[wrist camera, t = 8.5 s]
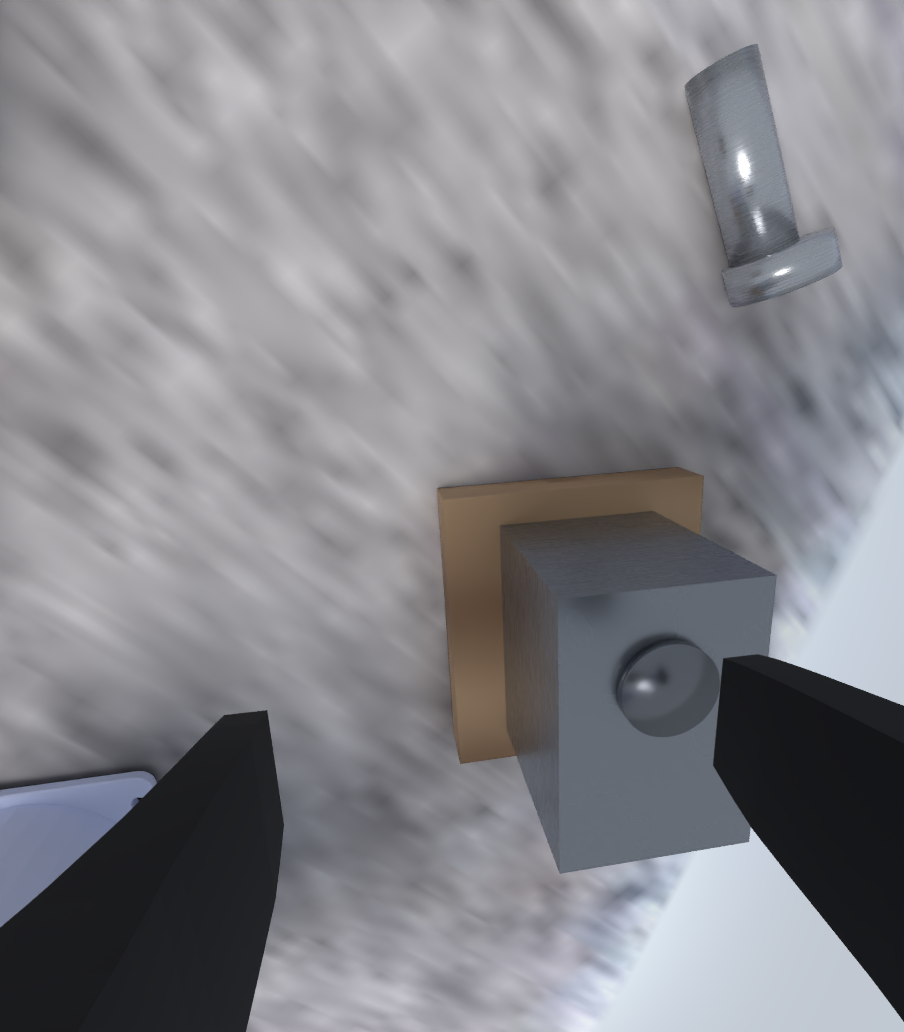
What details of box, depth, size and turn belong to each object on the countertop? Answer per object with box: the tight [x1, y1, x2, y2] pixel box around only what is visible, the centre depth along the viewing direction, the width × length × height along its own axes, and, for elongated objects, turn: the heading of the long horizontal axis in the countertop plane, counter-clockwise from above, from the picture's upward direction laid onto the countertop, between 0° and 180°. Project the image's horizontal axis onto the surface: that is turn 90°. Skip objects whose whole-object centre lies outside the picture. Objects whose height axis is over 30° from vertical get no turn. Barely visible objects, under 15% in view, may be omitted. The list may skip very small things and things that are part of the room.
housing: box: [499, 511, 777, 874], centre depth 15 cm, size 7×5×6 cm
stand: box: [437, 467, 704, 764], centre depth 19 cm, size 9×8×2 cm
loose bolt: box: [685, 44, 842, 307], centre depth 15 cm, size 6×3×3 cm, turn 24°
